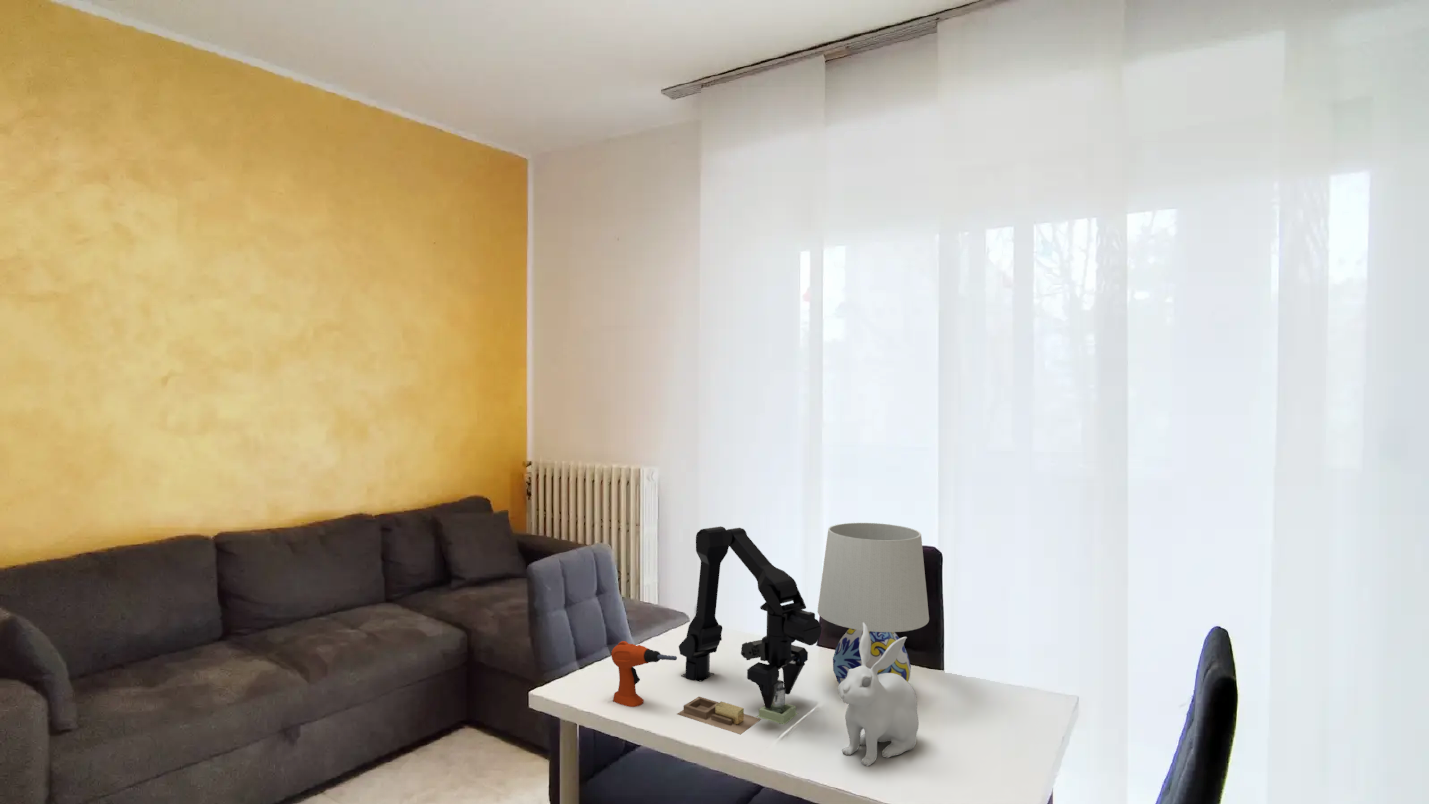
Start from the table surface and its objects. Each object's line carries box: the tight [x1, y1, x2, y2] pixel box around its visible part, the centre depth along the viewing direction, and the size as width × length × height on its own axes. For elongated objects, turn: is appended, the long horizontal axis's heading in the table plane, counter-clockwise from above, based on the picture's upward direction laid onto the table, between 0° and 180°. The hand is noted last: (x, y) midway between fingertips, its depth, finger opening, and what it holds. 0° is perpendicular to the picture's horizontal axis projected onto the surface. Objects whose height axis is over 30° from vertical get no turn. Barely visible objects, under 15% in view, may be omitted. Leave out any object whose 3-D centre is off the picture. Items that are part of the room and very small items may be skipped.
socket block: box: [676, 696, 762, 735], centre depth 165 cm, size 9×17×2 cm, turn 57°
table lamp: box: [817, 522, 930, 685], centre depth 182 cm, size 27×27×40 cm
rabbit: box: [837, 622, 920, 767], centre depth 152 cm, size 12×21×25 cm, turn 128°
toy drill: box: [610, 640, 678, 708], centre depth 170 cm, size 5×19×15 cm, turn 60°
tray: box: [756, 702, 799, 726], centre depth 167 cm, size 7×7×2 cm
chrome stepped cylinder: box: [771, 679, 786, 714], centre depth 167 cm, size 3×3×8 cm
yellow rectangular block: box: [715, 701, 745, 724], centre depth 164 cm, size 2×6×3 cm, turn 57°
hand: (777, 700), depth 167 cm, fingers open, 9 cm apart
